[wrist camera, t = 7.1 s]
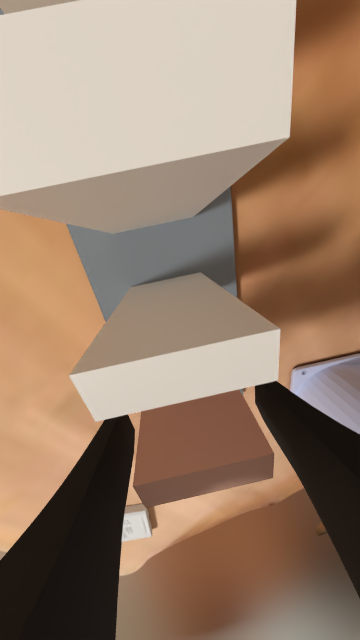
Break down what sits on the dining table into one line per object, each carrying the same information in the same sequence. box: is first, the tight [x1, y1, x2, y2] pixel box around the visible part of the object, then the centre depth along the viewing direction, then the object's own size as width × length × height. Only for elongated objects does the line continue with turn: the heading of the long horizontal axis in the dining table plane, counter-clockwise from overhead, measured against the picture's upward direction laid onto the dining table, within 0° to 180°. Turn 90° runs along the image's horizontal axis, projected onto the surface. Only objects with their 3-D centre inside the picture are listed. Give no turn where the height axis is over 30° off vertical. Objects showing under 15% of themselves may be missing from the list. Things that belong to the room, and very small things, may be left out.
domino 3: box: [133, 389, 274, 508], centre depth 11 cm, size 5×2×9 cm, turn 101°
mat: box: [0, 8, 243, 395], centre depth 11 cm, size 10×32×1 cm, turn 11°
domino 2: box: [69, 272, 280, 421], centre depth 9 cm, size 5×2×9 cm, turn 101°
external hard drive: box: [122, 504, 152, 542], centre depth 26 cm, size 2×8×12 cm
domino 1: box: [0, 0, 296, 234], centre depth 6 cm, size 5×2×9 cm, turn 101°
